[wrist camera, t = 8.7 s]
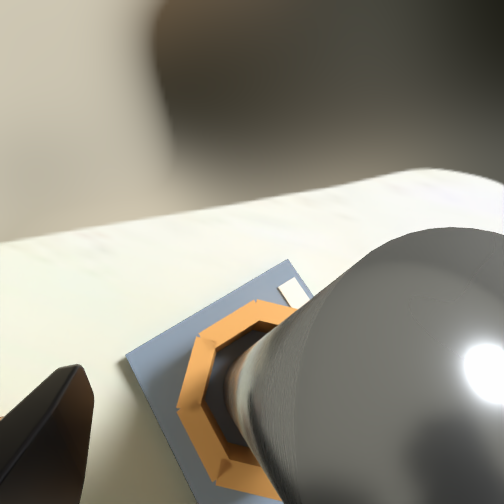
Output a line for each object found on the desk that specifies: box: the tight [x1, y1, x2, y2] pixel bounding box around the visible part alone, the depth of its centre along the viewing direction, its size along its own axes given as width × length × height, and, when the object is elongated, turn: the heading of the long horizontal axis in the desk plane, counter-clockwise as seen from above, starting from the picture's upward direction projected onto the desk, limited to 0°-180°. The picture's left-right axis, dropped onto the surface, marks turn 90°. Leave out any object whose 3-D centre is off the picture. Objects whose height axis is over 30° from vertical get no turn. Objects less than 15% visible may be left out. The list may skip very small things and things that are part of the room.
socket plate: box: [126, 259, 314, 504], centre depth 14 cm, size 9×9×4 cm
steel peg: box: [223, 227, 504, 504], centre depth 9 cm, size 4×4×13 cm
